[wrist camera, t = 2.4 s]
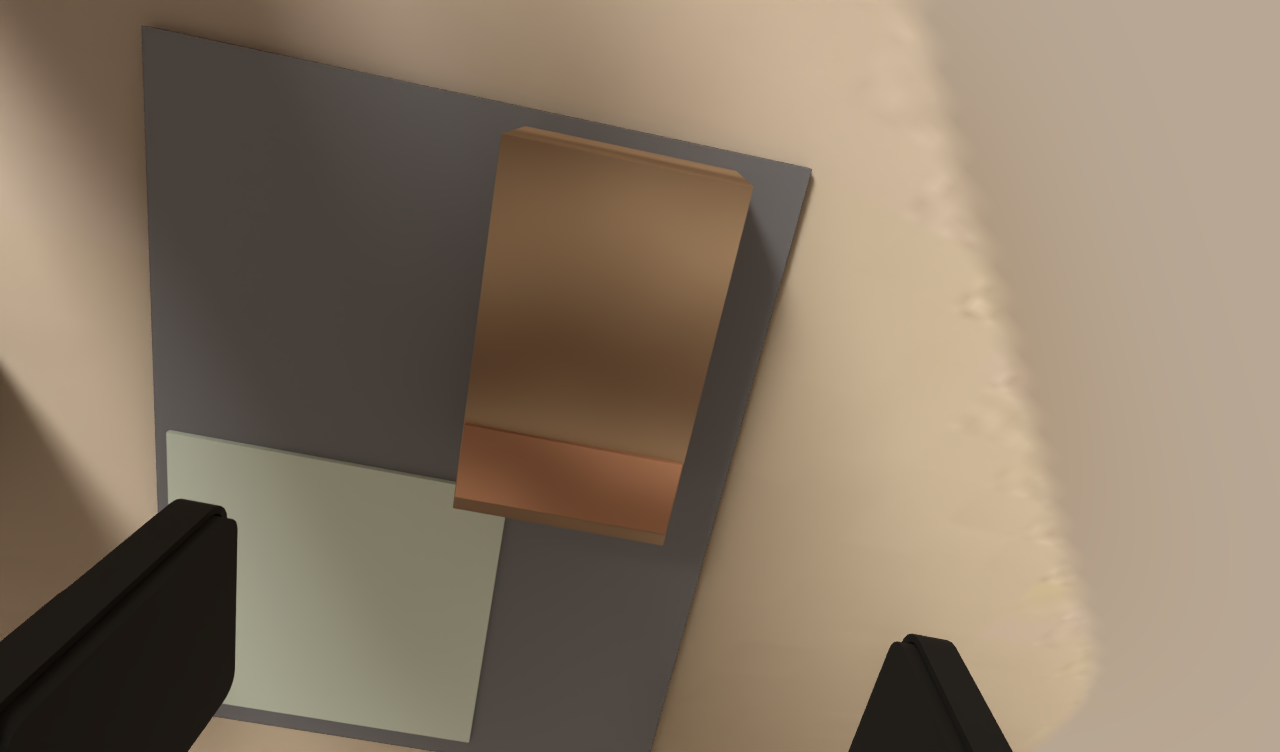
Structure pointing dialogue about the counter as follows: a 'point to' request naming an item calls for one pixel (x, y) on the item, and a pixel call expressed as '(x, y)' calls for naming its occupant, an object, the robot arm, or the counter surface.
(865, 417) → the counter surface
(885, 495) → the counter surface
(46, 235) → the counter surface
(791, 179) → the mat
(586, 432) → the brown rectangular block
